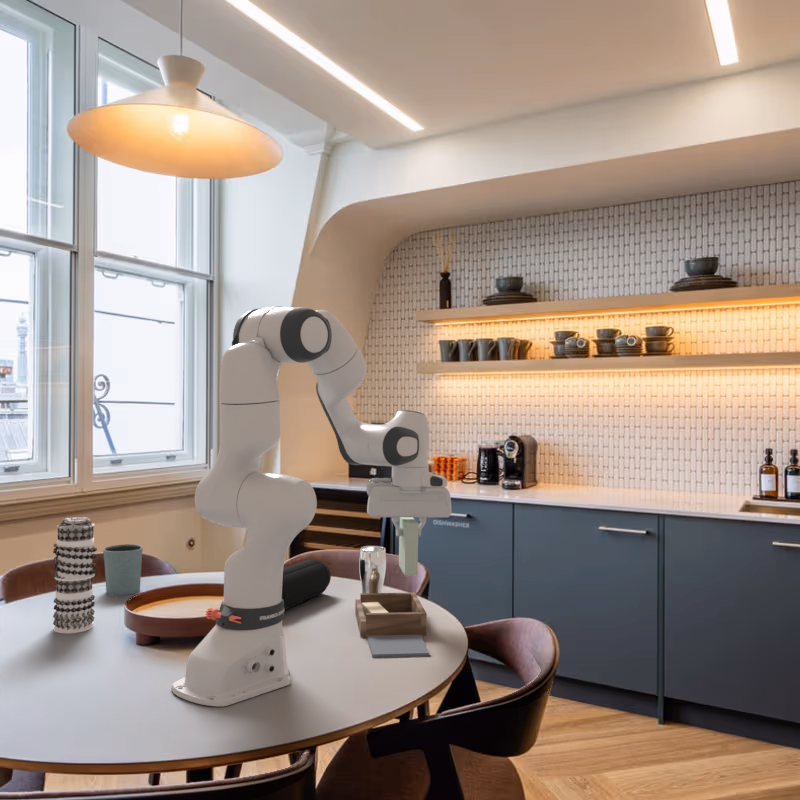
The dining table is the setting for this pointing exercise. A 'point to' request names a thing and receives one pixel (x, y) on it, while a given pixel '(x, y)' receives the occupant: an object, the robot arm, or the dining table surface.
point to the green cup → (123, 569)
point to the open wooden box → (391, 615)
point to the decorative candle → (74, 576)
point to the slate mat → (397, 645)
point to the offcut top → (373, 608)
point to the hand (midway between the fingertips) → (408, 535)
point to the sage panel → (408, 546)
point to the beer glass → (372, 568)
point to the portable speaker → (304, 581)
